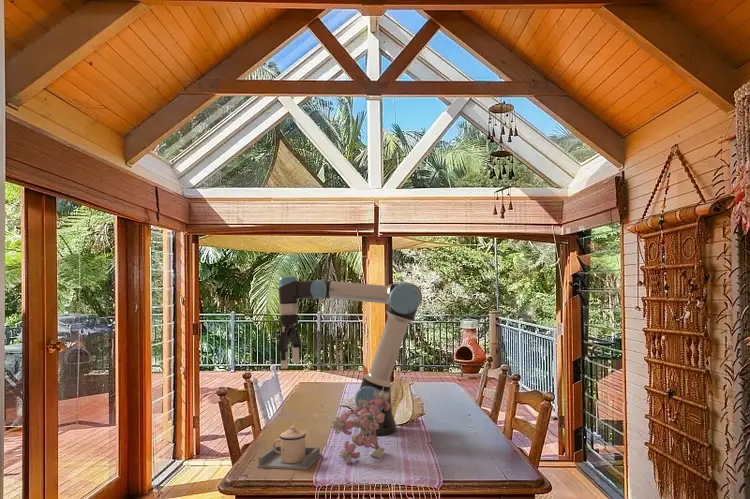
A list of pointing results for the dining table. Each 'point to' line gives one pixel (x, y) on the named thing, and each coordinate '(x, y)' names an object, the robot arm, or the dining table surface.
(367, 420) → the flower
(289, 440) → the teacup with lid
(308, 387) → the dining table surface
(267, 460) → the grey shallow square tray
